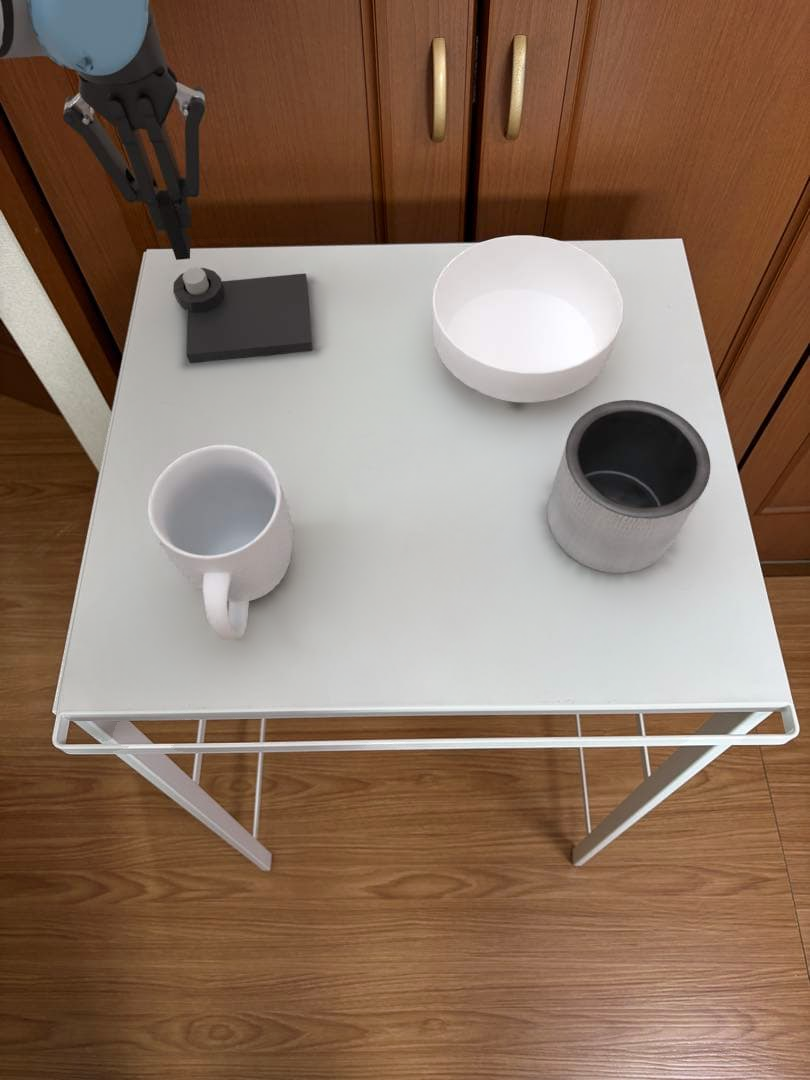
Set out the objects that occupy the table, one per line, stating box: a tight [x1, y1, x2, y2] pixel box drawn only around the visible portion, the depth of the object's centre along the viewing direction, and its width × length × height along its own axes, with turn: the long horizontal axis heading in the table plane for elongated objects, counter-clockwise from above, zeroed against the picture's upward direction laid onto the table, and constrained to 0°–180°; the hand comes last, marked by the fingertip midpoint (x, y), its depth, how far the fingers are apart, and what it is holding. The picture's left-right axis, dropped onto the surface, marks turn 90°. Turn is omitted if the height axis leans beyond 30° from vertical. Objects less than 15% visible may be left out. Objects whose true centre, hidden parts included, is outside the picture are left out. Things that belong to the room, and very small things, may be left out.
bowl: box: [431, 234, 625, 403], centre depth 80 cm, size 20×20×8 cm
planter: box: [546, 399, 711, 574], centre depth 69 cm, size 12×13×11 cm
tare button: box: [183, 267, 209, 295], centre depth 86 cm, size 3×3×2 cm
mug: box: [147, 444, 294, 641], centre depth 65 cm, size 15×11×13 cm
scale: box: [172, 267, 314, 364], centre depth 86 cm, size 15×12×3 cm
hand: (183, 250), depth 82 cm, fingers closed
